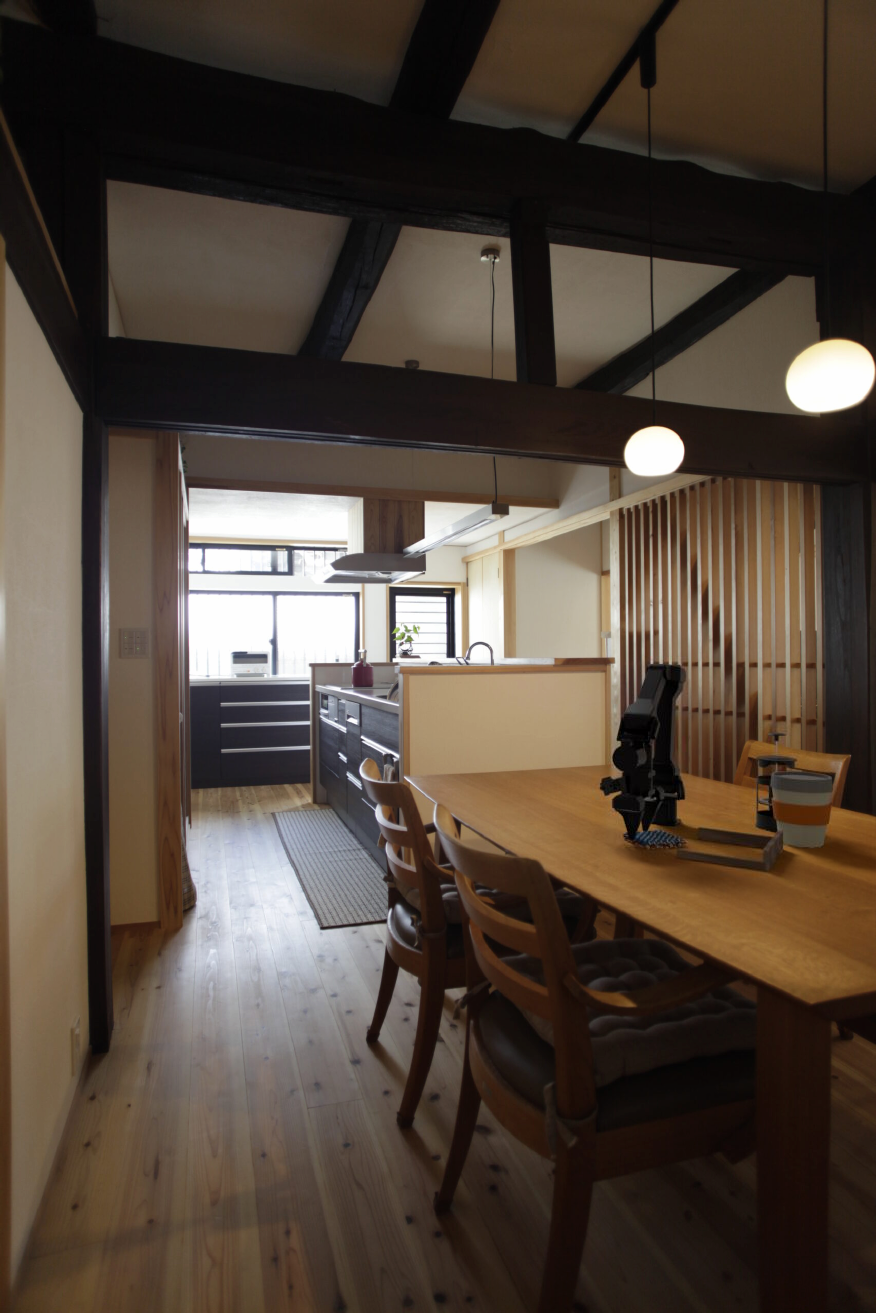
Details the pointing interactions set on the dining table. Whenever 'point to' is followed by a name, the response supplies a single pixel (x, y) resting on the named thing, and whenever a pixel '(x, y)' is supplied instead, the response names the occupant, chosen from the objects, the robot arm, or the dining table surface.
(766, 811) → the french press
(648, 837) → the woven mat
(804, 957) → the dining table surface
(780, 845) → the box
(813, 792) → the reusable coffee cup
